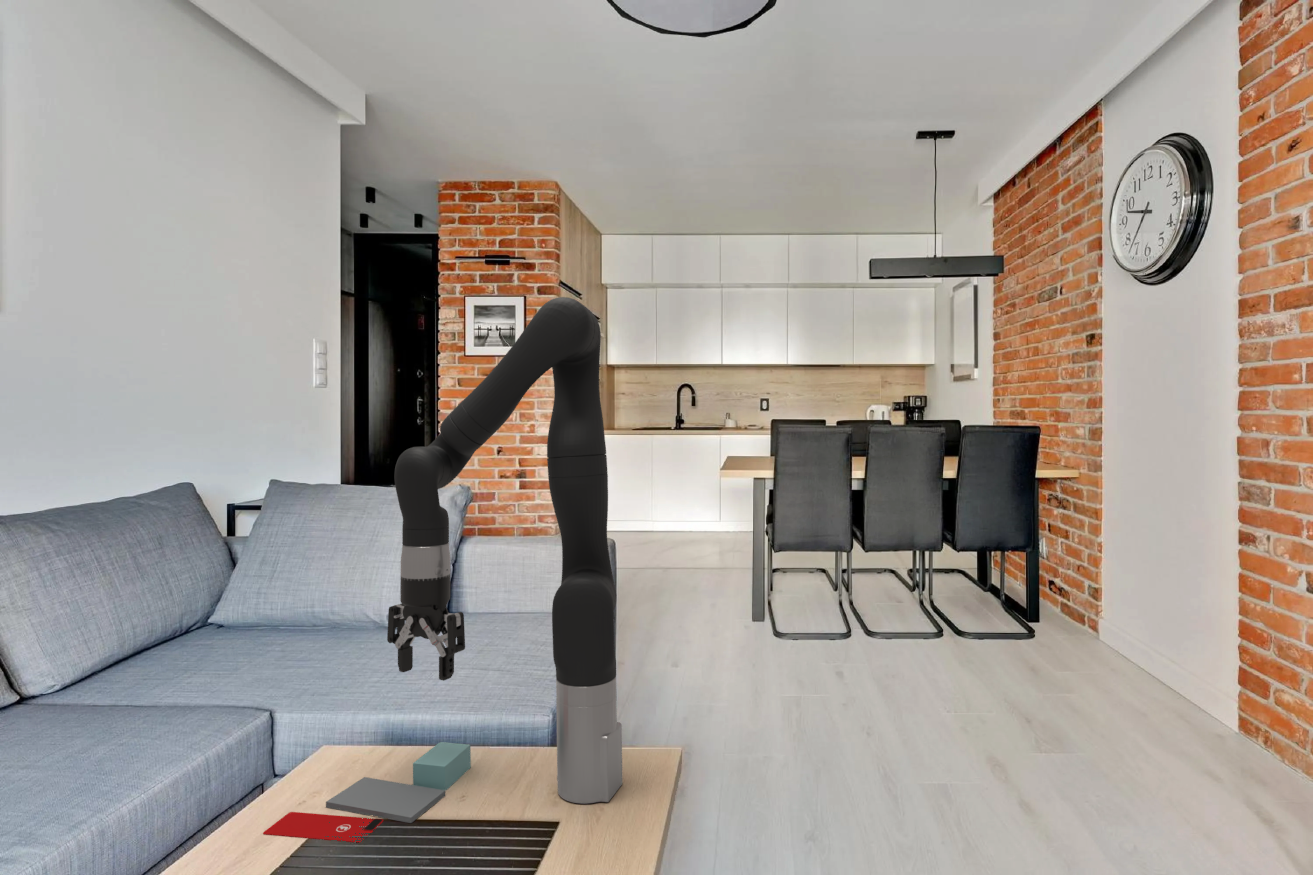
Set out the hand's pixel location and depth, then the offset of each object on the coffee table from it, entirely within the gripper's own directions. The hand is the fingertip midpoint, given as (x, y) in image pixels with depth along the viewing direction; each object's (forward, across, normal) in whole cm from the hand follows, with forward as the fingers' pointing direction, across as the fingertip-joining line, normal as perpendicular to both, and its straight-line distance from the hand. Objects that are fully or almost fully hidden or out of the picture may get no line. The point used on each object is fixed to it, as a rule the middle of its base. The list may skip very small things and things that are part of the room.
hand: (425, 674), depth 111 cm
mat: (+17, +1, +7) cm, 18 cm away
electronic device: (+18, +3, +16) cm, 24 cm away
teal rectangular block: (+17, -2, -2) cm, 17 cm away
